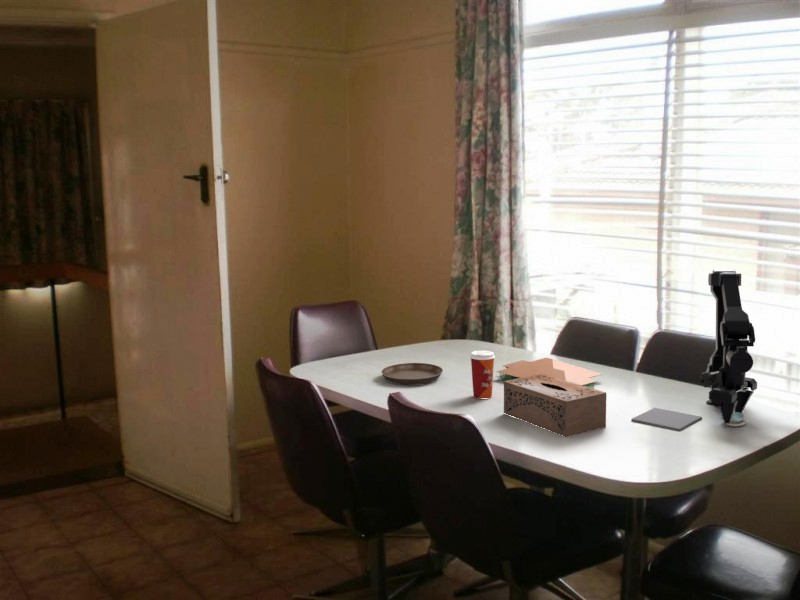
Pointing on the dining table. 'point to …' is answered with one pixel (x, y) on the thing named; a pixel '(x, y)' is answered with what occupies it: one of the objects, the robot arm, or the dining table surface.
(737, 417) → the pacifier
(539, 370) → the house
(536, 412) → the tissue box cover
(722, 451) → the dining table surface
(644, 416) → the mat
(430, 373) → the plant saucer
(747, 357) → the robot arm
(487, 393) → the paper cup
